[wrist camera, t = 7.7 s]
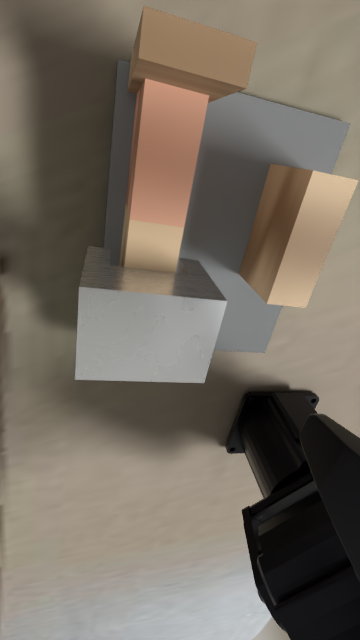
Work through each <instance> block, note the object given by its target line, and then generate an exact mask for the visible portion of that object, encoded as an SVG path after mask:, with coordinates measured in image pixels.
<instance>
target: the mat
mask: <svg viewBox="0 0 360 640" xmlns="http://www.w3.org/2000/svg"><path fill="white" fill-rule="evenodd" d="M129 70H130V62H127V61H123V60H119V59H118V65H117V78H116V92H115V105H114V118H113V131H112V144H111V157H110V170H109V183H108V196H107V209H106V222H105V235H104V248H108V249H110V265H113V266H119V263H120V254H121V244H122V234H123V224H124V215H125V205H126V195H127V185H128V176H129V166H130V156H131V146H132V137H133V127H134V117H135V107H136V98H137V94H136V93H132V92H128V81H129ZM349 126H350V123H347V122H343V121H339V120H336V119H332V118H329V117H325V116H321V115H318V114H314V113H311V112H307V111H303V110H300V109H296V108H293V107H289V106H285V105H282V104H278V103H275V102H271V101H267V100H264V99H260V98H256V97H253V96H249V95H246V94H242V93H238V92H236V93H233V94H231V95H228V96H225V97H223V98H220V99H218V100H215V101H212V102H210V103H208V105H207V110H206V115H205V120H204V126H203V131H202V136H201V141H200V147H199V152H198V157H197V162H196V168H195V173H194V178H193V183H192V189H191V194H190V199H189V204H188V210H187V215H186V220H185V225H184V231H183V236H182V241H181V246H180V252H179V257H178V261H179V258H185V259H193V260H198V261H199V262H200V263H201V265H202V266H203V268H204V269H205V270H206V272H207V273H208V275H209V276H210V277H211V279H212V280H213V282H214V283H215V284H216V286H217V287H218V289H219V290H220V291H221V293H222V294H223V296H224V297H225V298H226V300H227V305H226V308H225V312H224V316H223V319H222V323H221V326H220V330H219V333H218V337H217V340H216V344H215V347H214V350H221V351H240V352H258V353H265V350H266V348H267V345H268V342H269V340H270V337H271V334H272V332H273V329H274V326H275V324H276V321H277V318H278V316H279V313H280V310H281V308H282V305H273V304H266V302H265V301H264V300H263V299H262V298H261V297H260V296H259V295H258V294H257V293H256V292H255V291H254V290H253V289H252V288H251V287H250V286H249V284H248V283H247V282H246V281H245V280H244V279H243V278H242V277H241V276H240V275H239V271H240V268H241V265H242V261H243V258H244V254H245V251H246V247H247V244H248V240H249V237H250V233H251V230H252V226H253V223H254V219H255V216H256V213H257V209H258V206H259V202H260V199H261V195H262V192H263V188H264V185H265V181H266V178H267V174H268V171H269V167H270V164H275V165H281V166H288V167H294V168H301V169H307V170H314V171H318V172H323V173H327V174H332V171H333V168H334V166H335V163H336V160H337V158H338V155H339V152H340V150H341V147H342V144H343V142H344V139H345V136H346V134H347V131H348V128H349ZM177 266H178V262H177ZM176 271H177V267H176Z"/></svg>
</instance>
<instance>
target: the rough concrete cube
mask: <svg viewBox="0 0 360 640" xmlns="http://www.w3.org/2000/svg"><path fill="white" fill-rule="evenodd" d="M226 305H227V300H226V298H225V297H224V296H223V294H222V293H221V291H220V290H219V289H218V287H217V286H216V284H215V283H214V282H213V280H212V279H211V277H210V276H209V275H208V273H207V272H206V270H205V269H204V268H203V266H202V265H201V263H200V262H199V261H198V260H193V259H185V258H179V261H178V266H177V271H176V273H173V272H164V271H156V270H147V269H139V268H130V267H121V266H113V265H110V249H108V248H101V247H93V246H88V249H87V254H86V258H85V263H84V267H83V272H82V276H81V281H80V285H79V301H78V323H77V345H76V367H75V380H105V381H143V382H180V383H204V382H205V379H206V375H207V372H208V368H209V365H210V361H211V358H212V354H213V351H214V347H215V344H216V340H217V337H218V333H219V330H220V326H221V323H222V319H223V316H224V312H225V308H226Z"/></svg>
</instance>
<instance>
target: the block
mask: <svg viewBox="0 0 360 640" xmlns="http://www.w3.org/2000/svg"><path fill="white" fill-rule="evenodd" d="M256 46H257V42H254V41H251V40H248V39H245V38H242V37H238V36H235V35H232V34H229V33H226V32H223V31H220V30H217V29H214V28H211V27H208V26H205V25H202V24H199V23H195V22H192V21H189V20H186V19H183V18H180V17H177V16H174V15H171V14H168V13H165V12H162V11H159V10H156V9H152V8H149V7H146V6H144V7H143V11H142V15H141V19H140V24H139V28H138V32H137V36H136V40H135V45H134V49H133V53H132V57H131V61H130V70H129V81H128V92H132V93H136V94H137V98H136V107H135V117H134V127H133V137H132V146H131V156H130V166H129V176H128V185H127V195H126V205H125V215H124V224H123V234H122V244H121V254H120V263H119V266H121V267H130V268H139V269H147V270H156V271H164V272H173V273H176V267H177V262H178V257H179V252H180V246H181V241H182V236H183V231H184V225H185V220H186V215H187V210H188V204H189V199H190V194H191V189H192V183H193V178H194V173H195V168H196V162H197V157H198V152H199V147H200V141H201V136H202V131H203V126H204V120H205V115H206V110H207V105H208V103H210V102H212V101H215V100H218V99H220V98H223V97H225V96H228V95H231V94H233V93H236V92H239V91H241V90H244V89H247V84H248V80H249V76H250V72H251V67H252V63H253V59H254V54H255V50H256ZM357 183H358V180H354V179H349V178H345V177H341V176H336V175H332V174H327V173H323V172H318V171H314V170H307V169H301V168H294V167H288V166H281V165H275V164H270V167H269V171H268V174H267V178H266V181H265V185H264V188H263V192H262V195H261V199H260V202H259V206H258V209H257V213H256V216H255V219H254V223H253V226H252V230H251V233H250V237H249V240H248V244H247V247H246V251H245V254H244V258H243V261H242V265H241V268H240V271H239V275H240V276H241V277H242V278H243V279H244V280H245V281H246V282H247V283H248V284H249V286H250V287H251V288H252V289H253V290H254V291H255V292H256V293H257V294H258V295H259V296H260V297H261V298H262V299H263V300H264V301H265V302H266V304H273V305H284V306H294V307H304V308H306V306H307V304H308V301H309V299H310V296H311V294H312V291H313V289H314V287H315V284H316V282H317V279H318V277H319V275H320V272H321V270H322V267H323V265H324V262H325V260H326V258H327V255H328V253H329V250H330V248H331V246H332V243H333V241H334V238H335V236H336V233H337V231H338V229H339V226H340V224H341V221H342V219H343V217H344V214H345V212H346V209H347V207H348V204H349V202H350V200H351V197H352V195H353V192H354V190H355V188H356V185H357Z"/></svg>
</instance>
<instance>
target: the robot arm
mask: <svg viewBox="0 0 360 640" xmlns="http://www.w3.org/2000/svg"><path fill="white" fill-rule="evenodd" d="M250 398H251V399H250ZM318 401H319V397H318V396H317V395H316V394H315V393H294V392H248V393H246V394H245V395H244V397H243V400H242V402H241V405H240V408H239V410H238V413H237V416H236V419H235V421H234V424H233V427H232V430H231V432H230V435H229V438H228V441H227V443H226V450H227V452H228V453H231V454H232V453H245V455H246V458H247V460H248V462H249V465H250V467H251V469H252V472H253V474H254V476H255V479H256V481H257V483H258V486H259V488H260V491H261V493H262V495H263V498H264V499H262V500H261V501H259V502H257V503H255V504H254V505H252V506H250V507H249V506H247V507H246V508H244V509H242V515H243V520H244V529H245V534H246V539H247V544H248V549H249V554H250V560H251V565H252V570H253V575H254V580H255V584H256V587H257V590H258V595H259V597H260V599H261V601H262V602H263V603H265V604H266V606H267V608H268V610H269V611H270V613H271V615H272V617H273V618H274V620H275V621H276V622H277V624H278V625H279V626H280V627H281V628H282V629H283V630H284V631H286V632H287V633H288V635H289V637H290V639H291V640H360V438H359V437H357V436H356V435H354V434H353V433H351V432H350V431H348V430H347V429H345V428H344V427H342V426H341V425H340V424H338V423H337V422H335V421H334V420H332V419H331V418H329V417H328V416H326V415H324V414H318V413H317V412H316V411H315V407H316V405H317V403H318Z"/></svg>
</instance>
